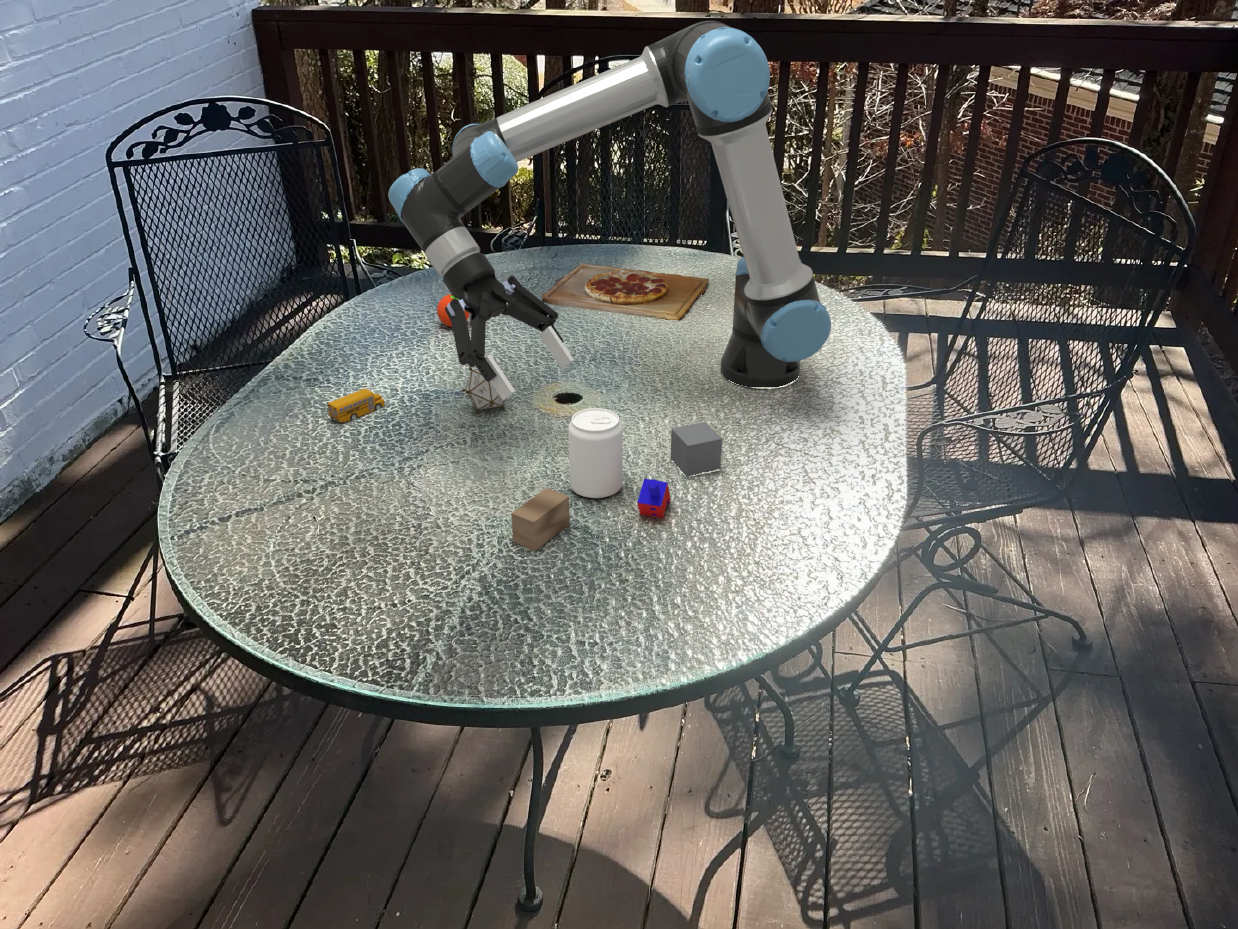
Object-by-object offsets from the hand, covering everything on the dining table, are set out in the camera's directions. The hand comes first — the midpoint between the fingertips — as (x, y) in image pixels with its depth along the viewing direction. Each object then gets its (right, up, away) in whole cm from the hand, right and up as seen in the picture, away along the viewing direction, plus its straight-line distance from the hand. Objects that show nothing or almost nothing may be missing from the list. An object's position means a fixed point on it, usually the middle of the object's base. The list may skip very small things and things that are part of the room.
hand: (539, 379), depth 143 cm
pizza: (+14, +26, +75) cm, 81 cm away
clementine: (-23, +16, +57) cm, 64 cm away
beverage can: (+9, -17, +2) cm, 19 cm away
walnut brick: (+1, -23, -8) cm, 24 cm away
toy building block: (+17, -20, -3) cm, 27 cm away
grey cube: (+24, -13, +8) cm, 29 cm away
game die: (-11, -3, +25) cm, 28 cm away
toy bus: (-34, -4, +23) cm, 42 cm away
